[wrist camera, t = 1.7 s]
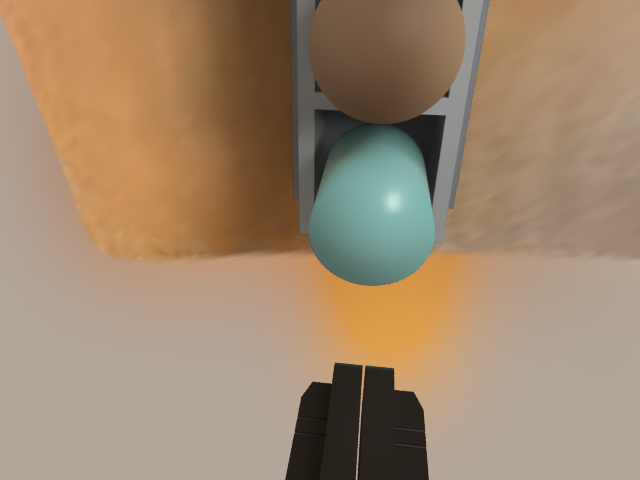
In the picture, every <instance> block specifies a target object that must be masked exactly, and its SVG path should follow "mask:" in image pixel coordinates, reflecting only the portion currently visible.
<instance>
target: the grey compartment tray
mask: <svg viewBox="0 0 640 480" xmlns="http://www.w3.org/2000/svg"><path fill="white" fill-rule="evenodd" d="M320 1H321V0H290V24H291V78H292V133H293V188H294V198H299V232H300V234H309V231H308V230H309V221H310V217H311V213H312V210H313V207H314V203H315V200H316V196H317V193H318V189H319V186H320V183H321V179H322V176H323V172H324V169H325V166H326V162H327V159H328V155H329V153H330V150H331V149H332V147H333V145H334V144H335V142H336V141H337V140H338V139H339V138H340V137H341V136H342V135H343V134H344V133H345V132H347V131H348V130H350V129H352V128H354V127H356V126H359V125H363V124H367V122H363V121H360V120H357V119H355V118H352V117H350V116H349V115H347V114H345V113H343V112H342V111H341V110H339V109H338V108H337V107H335V106H334V105H333V104H332V103H331V102H330V101H329V100H328V98H327V97H326V96H325V95H324V94H323V92H322V90H321V89H320V87H319V86H318V84H317V81H316V79H315V77H314V74H313V71H312V68H311V64H310V59H309V47H308V44H309V32H310V27H311V23H312V19H313V16H314V13H315V11H316V9H317V7H318V4H319V3H320ZM457 1H458V3H459V5H460V8H461V11H462V14H463V18H464V24H465V34H466V42H465V52H464V56H463V60H462V64H461V67H460V69H459V72H458V74H457V76H456V78H455V80H454V82H453V84H452V85H451V87H450V88H449V90H448V91H447V92H446V93H445V95H444V96H443V97H442V98H441V99H440V100H439V101H438V102H437V103H436V104H435V105H434V106H432V107H431V108H430V109H428V110H427V111H426V112H424V113H422V114H420V115H418V116H417V117H414V118H412V119H409V120H407V121H403V122H399V123H393V124H389V125H393V126H395V127H398V128H400V129H402V130H403V131H405V132H406V133H408V134H409V135H410V136H411V137H412V138H413V139H414V140H415V141H416V143H417V144H418V146H419V148H420V149H421V152H422V154H423V158H424V163H425V169H426V175H427V181H428V187H429V194H430V200H431V206H432V212H433V218H434V224H435V240H434V243H435V244H442V241H443V235H444V229H445V223H446V217H447V211H448V208H451V209H453V206H454V201H455V195H456V189H457V183H458V178H459V172H460V166H461V161H462V155H463V149H464V144H465V138H466V132H467V127H468V121H469V115H470V110H471V104H472V98H473V93H474V87H475V81H476V76H477V70H478V64H479V58H480V53H481V47H482V41H483V36H484V30H485V24H486V19H487V13H488V7H489V2H490V0H457Z"/></svg>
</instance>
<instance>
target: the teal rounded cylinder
mask: <svg viewBox="0 0 640 480" xmlns="http://www.w3.org/2000/svg"><path fill="white" fill-rule="evenodd" d="M308 231H309V240H310V244H311V247H312V249H313V252H314V253H315V255H316V257H317V258H318V260H319V261H320V262H321V264H322V265H324V267H326V269H328V270H329V271H330V272H331V273H333V274H334V275H336V276H337V277H340V278H341V279H344V280H346V281H349V282H351V283H355V284H360V285H368V286H369V285H370V286H377V285H385V284H390V283H394V282H397V281H399V280H402V279H404V278H406V277H408V276H409V275H411V274H412V273H414V272H415V271H416V270H418V269H419V268H420V267H421V266H422V265H423V263H424V262H425V261H426V260H427V258H428V256H429V254H430V252H431V250H432V248H433V244H434V240H435V224H434V218H433V212H432V206H431V200H430V194H429V187H428V181H427V175H426V169H425V163H424V158H423V154H422V152H421V149H420V148H419V146H418V144H417V143H416V141H415V140H414V139H413V138H412V137H411V136H410V135H409V134H408V133H406V132H405V131H403V130H402V129H400V128H398V127H395V126H393V125H389V124H373V123H367V124H363V125H359V126H356V127H354V128H352V129H350V130H348V131H347V132H345V133H344V134H343V135H342V136H341V137H340V138H339V139H338V140H337V141H336V142H335V144H334V145H333V147H332V149H331V150H330V153H329V155H328V159H327V162H326V166H325V169H324V172H323V176H322V179H321V183H320V186H319V189H318V193H317V196H316V200H315V203H314V207H313V210H312V213H311V217H310V221H309V230H308Z"/></svg>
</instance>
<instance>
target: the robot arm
mask: <svg viewBox="0 0 640 480" xmlns="http://www.w3.org/2000/svg"><path fill="white" fill-rule="evenodd" d="M362 368H363V366H362V365H353V364H344V363H335V365H334V373H333V380H332V384H330V383H320V382H312V383H311V385H310V386H309V388H308V389H307V390H306V392H305V393H304V394H303V396H302V397H301V402H300V407H299V412H298V419H297V422H296V428H295V434H294V438H293V443H292V448H291V453H290V458H289V463H288V469H287V474H286V479H285V480H356V465H357V449H358V433H359V417H360V400H361V385H362ZM358 480H429V476H428V463H427V451H426V437H425V424H424V411H423V408H422V406H421V405H420V403H419V401H418V399H417V397H416V395H415V393H414V392H409V391H399V390H394V368H385V367H375V366H365V378H364V389H363V401H362V413H361V427H360V444H359V462H358Z"/></svg>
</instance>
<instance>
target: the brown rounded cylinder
mask: <svg viewBox="0 0 640 480" xmlns="http://www.w3.org/2000/svg"><path fill="white" fill-rule="evenodd" d="M465 42H466V34H465V24H464V18H463V14H462V11H461V8H460V5H459V3H458V1H457V0H321V1H320V3H319V4H318V7H317V9H316V11H315V13H314V16H313V19H312V23H311V27H310V32H309V44H308V47H309V59H310V64H311V68H312V71H313V74H314V77H315V79H316V81H317V84H318V86H319V87H320V89H321V90H322V92H323V94H324V95H325V96H326V97H327V98H328V100H329V101H330V102H331V103H332V104H333V105H334V106H335V107H337V108H338V109H339V110H341V111H342V112H343V113H345V114H347V115H349V116H350V117H352V118H355V119H357V120H360V121H363V122H367V123H373V124H393V123H399V122H403V121H407V120H409V119H412V118H414V117H417V116H418V115H420V114H422V113H424V112H426V111H427V110H428V109H430V108H431V107H432V106H434V105H435V104H436V103H437V102H438V101H439V100H440V99H441V98H442V97H443V96H444V95H445V93H446V92H447V91H448V90H449V88H450V87H451V85H452V84H453V82H454V80H455V78H456V76H457V74H458V72H459V69H460V67H461V64H462V60H463V56H464V52H465Z"/></svg>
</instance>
